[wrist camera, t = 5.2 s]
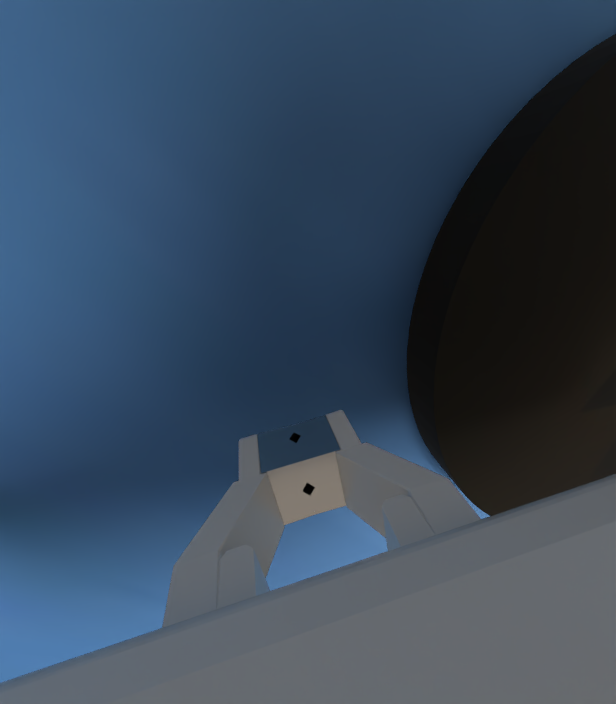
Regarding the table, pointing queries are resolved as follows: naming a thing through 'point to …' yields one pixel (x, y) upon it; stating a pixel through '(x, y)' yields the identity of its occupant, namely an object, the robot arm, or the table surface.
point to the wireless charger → (526, 303)
